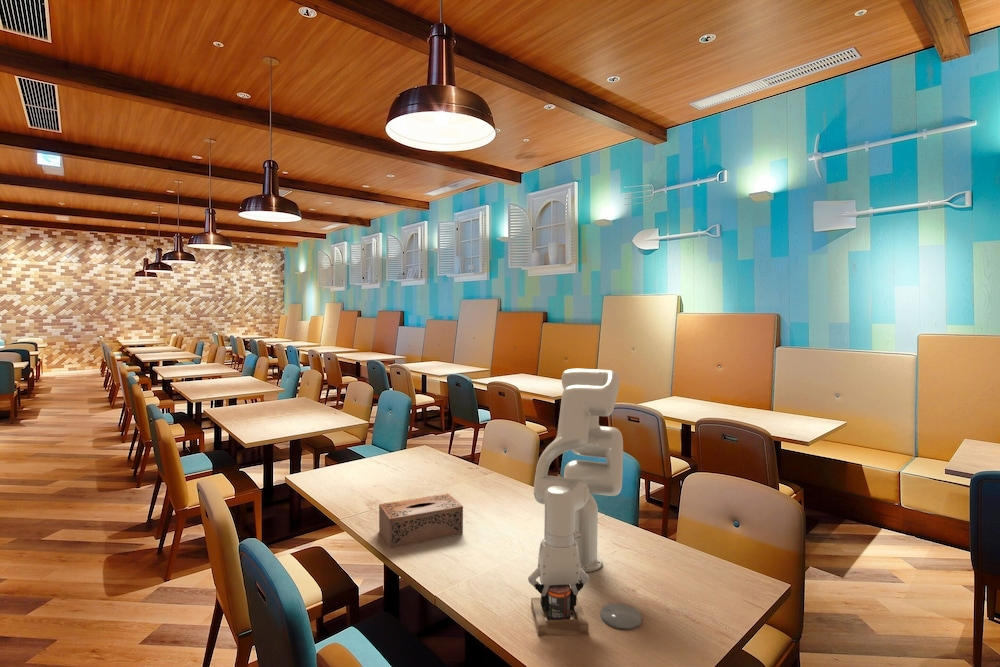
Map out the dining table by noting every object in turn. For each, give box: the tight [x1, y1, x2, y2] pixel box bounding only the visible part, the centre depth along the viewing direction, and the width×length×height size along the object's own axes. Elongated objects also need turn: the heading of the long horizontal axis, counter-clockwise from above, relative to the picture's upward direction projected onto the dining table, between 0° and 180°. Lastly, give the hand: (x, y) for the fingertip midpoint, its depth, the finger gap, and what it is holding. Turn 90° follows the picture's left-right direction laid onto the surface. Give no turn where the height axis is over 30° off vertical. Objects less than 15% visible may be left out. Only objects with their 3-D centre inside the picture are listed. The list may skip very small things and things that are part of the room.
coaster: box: [600, 602, 642, 630], centre depth 128 cm, size 10×10×1 cm
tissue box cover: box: [378, 493, 464, 549], centre depth 177 cm, size 26×14×10 cm, turn 117°
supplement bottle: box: [546, 585, 572, 620], centre depth 126 cm, size 6×6×11 cm
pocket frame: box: [530, 597, 589, 637], centre depth 127 cm, size 12×12×2 cm
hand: (558, 607), depth 127 cm, fingers closed on supplement bottle, 6 cm apart
